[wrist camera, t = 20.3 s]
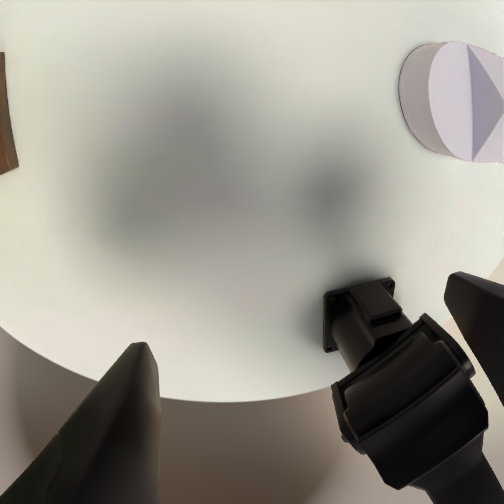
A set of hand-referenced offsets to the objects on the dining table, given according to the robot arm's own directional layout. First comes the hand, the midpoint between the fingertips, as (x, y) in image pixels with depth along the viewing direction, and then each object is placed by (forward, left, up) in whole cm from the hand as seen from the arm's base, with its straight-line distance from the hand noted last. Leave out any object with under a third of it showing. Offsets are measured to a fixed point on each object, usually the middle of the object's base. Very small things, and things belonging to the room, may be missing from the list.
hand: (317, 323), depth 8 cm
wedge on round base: (+6, -18, -13) cm, 23 cm away
